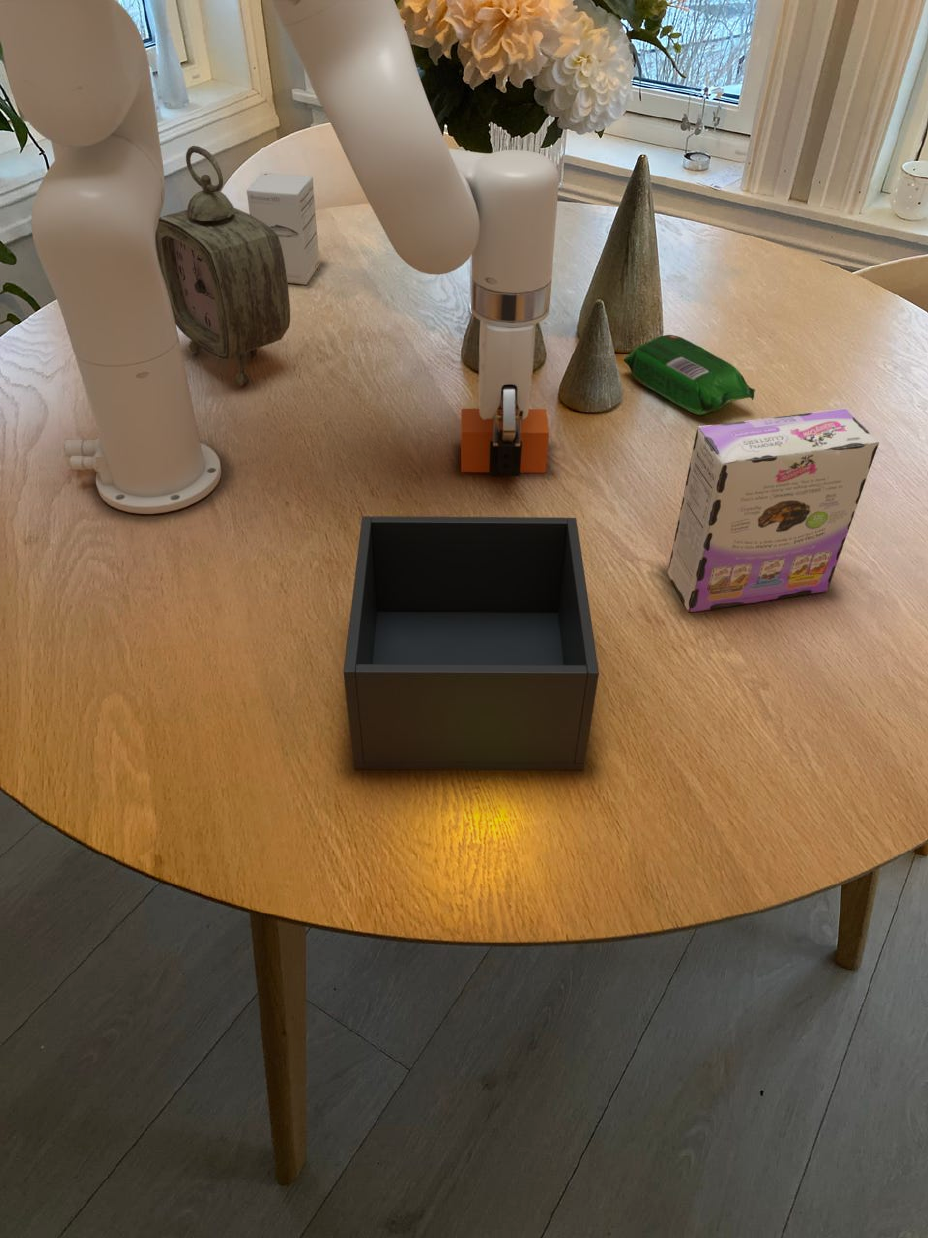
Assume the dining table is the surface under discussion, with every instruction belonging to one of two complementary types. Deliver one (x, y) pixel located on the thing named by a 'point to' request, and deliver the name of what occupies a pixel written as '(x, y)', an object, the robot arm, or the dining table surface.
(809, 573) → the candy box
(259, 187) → the white packaging box
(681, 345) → the snack package
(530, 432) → the orange rectangular block
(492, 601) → the open box bin
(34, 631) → the dining table surface
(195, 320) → the tabletop clock
